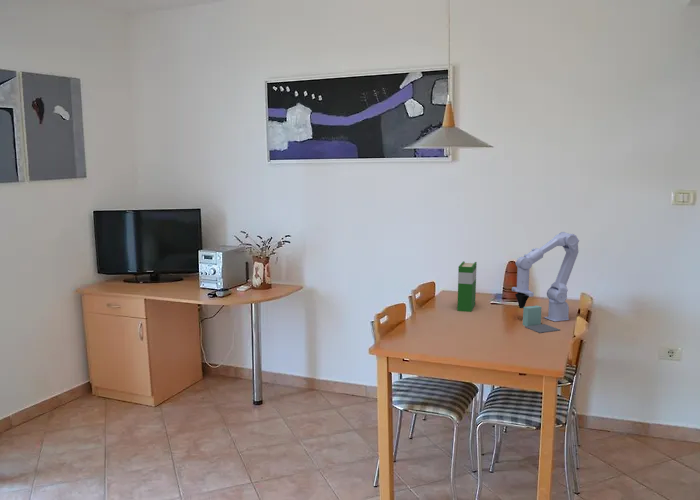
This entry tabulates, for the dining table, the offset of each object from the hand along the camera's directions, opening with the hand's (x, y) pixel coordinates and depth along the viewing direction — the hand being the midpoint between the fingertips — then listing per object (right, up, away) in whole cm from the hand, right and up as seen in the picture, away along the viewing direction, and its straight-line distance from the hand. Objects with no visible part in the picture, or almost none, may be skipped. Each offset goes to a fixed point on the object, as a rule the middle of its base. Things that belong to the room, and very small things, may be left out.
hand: (521, 307), depth 303 cm
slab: (+3, -8, -6) cm, 10 cm away
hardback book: (-22, -3, +28) cm, 36 cm away
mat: (+6, -9, -13) cm, 17 cm away
